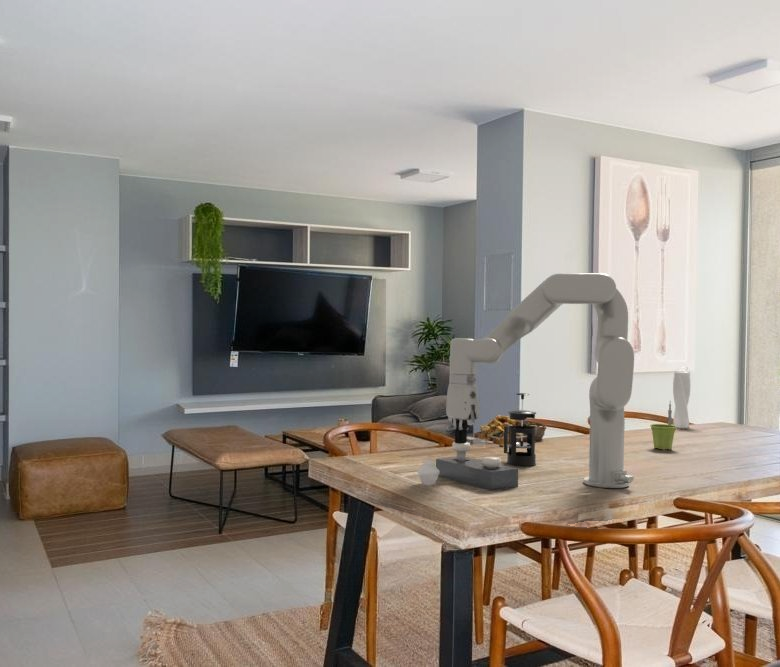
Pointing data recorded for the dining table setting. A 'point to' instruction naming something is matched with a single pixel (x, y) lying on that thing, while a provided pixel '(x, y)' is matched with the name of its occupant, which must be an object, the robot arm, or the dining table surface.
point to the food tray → (496, 430)
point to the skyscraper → (680, 399)
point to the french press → (521, 457)
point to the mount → (477, 473)
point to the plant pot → (663, 435)
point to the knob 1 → (461, 450)
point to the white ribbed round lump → (428, 473)
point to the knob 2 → (491, 462)
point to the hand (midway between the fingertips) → (460, 442)
